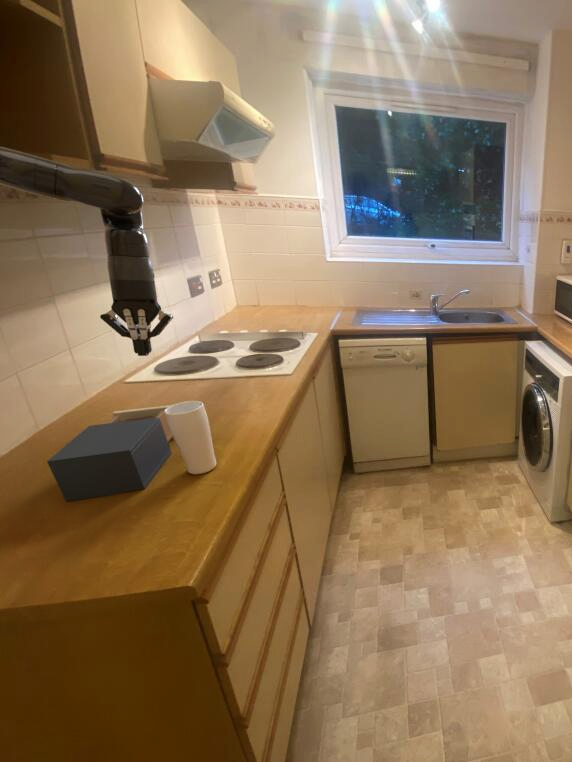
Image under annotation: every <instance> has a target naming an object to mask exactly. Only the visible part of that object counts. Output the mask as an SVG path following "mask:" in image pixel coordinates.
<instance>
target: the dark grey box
mask: <svg viewBox="0 0 572 762" xmlns="http://www.w3.org/2000/svg"><path fill="white" fill-rule="evenodd" d="M171 454H172V450H171V447H170V445H169V442H168V441H167V438H166V435H165V432H164V429H163V426H162V424H161V421H160V418H151V419H142V420H134V421H125V422H117V423H108V424H106V423H100V424H93V425H92V424H91V425H88V426H87V427H86V428H84V429H83V430H82V431H81V432H80V433H79V434H77V435H76V436H75V437H74V438H73V439H71V440H70V441H69V442H68V443H67V444H65V445H64V446H63V447H62V448H61V449H60V450H58V451H57V452H56V453H55V454H53V456H51V457H50V458H49V459H47V460H46V462H47V465H48V467H49V469H50V471H51V473H52V475H53V477H54V479H55V482H56V484H57V486H58V488H59V490H60V492H61V494H62V496H63V499H64V501H65V502H66V503H67V502H75V501H81V500H87V499H93V498H99V497H105V496H111V495H118V494H124V493H131V492H137V491H144V490H146V488H147V487H148V486H149V484H150V483H151V482H152V480H153V479H154V477H155V476H156V475H157V473H158V472H159V471H160V470H161V468H162V467H163V465H164V464H165V463H166V461H167V460H168V459H169V457H170V456H171Z"/></svg>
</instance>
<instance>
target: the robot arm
mask: <svg viewBox="0 0 572 762" xmlns="http://www.w3.org/2000/svg"><path fill="white" fill-rule="evenodd" d="M0 185H1V186H4V187H7V188H10V189H11V188H12V189H15V190H17V191H21V192H25V193H29V194H33V195H36V196H42V197H46V198H50V199H53V200H57V201H61V202H68V203H78V204H83V205H87V206H91V207H94V208H97V209H99V211H100V212H99V213H100V215H101V220H102V224H103V228H104V244H105V250H106V255H107V257H106V258H107V262H106V263H107V265H106V266H107V272H108V278H109V284H110V291H111V297H112V304H111V305H110V306H111V307H110V308H111V310H108V311H107V312H106V313H102V314H100V316H99V318H100V319H101V320H102V321H103V322H104V323H106V324H107V325H108V326H109V327H110V328H111V329H113V330H114V331H115V332H116V333H117V334H119V335H120V336H121V337H123V338H129V339H130V340H131V341H132V346H133V352H134V354H137V356H138V357H147V356H150V353H152V351H153V350H152V342H151V339H152V338H155V337H157V336H160V334H161V333H162V332H163V331H164V330H165V329H166V328H167V326H168V325H169V324H170V323H171V321H172V320H173V319H174V315H173V314H171V313H167V312H166V311H164V310H162V306H161V305H160V304H159V301H158V296H157V287H156V282H155V281H156V280H155V273H154V267H153V264H152V261H151V258H150V255H151V254H150V248H149V242H148V241H149V240H148V238H147V234H146V232H145V230H144V223H143V213H142V208H143V206H144V197H143V194H142V192H141V190H139V188H138V187H137V186H136V185H135V184H134V183H132V182H130V181H128V180H126V179H124V178H120V177H117V176H113V175H110V174H105V173H101V172H96V171H92V170H88V169H81V168H77V167H75V166H70V165H68V164H64V163H62V162H60V161H59V162H57V161H56V160H52V159H48V158H45V157H41V156H37V155H34V154H31V153H27V152H23V151H19V150H16V149H12V148H8V147H4V146H0ZM157 317H158V318H157ZM156 318H157V319H158V321H159V322H158V323H157V324H156V325H155V326H154V328H153V329H152V330H151V328H152V323H153V322H154V321H155V319H156ZM119 319H121V320H122V321H123V322H124V323H126V326H127V327H126V326H125V325H124V324H123V323H122V322H120V320H119Z"/></svg>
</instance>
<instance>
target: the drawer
mask: <svg viewBox="0 0 572 762" xmlns="http://www.w3.org/2000/svg"><path fill="white" fill-rule="evenodd" d="M172 405H173V404H169V405H168V404H167V405H160V406H152V407H142V408H131V409H124V410H114V411H113V412H112V413H111V415H112V417H111V418H110V419H109V420H108V421H107V422H106V423H105V424H108V423H117V422H125V421H126V420H129V419H136V418H143V417H149V416H152V417H153V418H160V421H161V424H162V426H163V429H164V432H165V435H166V438H167V441H168V443H169V442H170V440H171V439H172V438H173V436H172V434H171V432H170V429H169V427H168V424H167V420H166V417H165V413H164V411H165V409H166V408H168V407H170V406H172Z"/></svg>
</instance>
